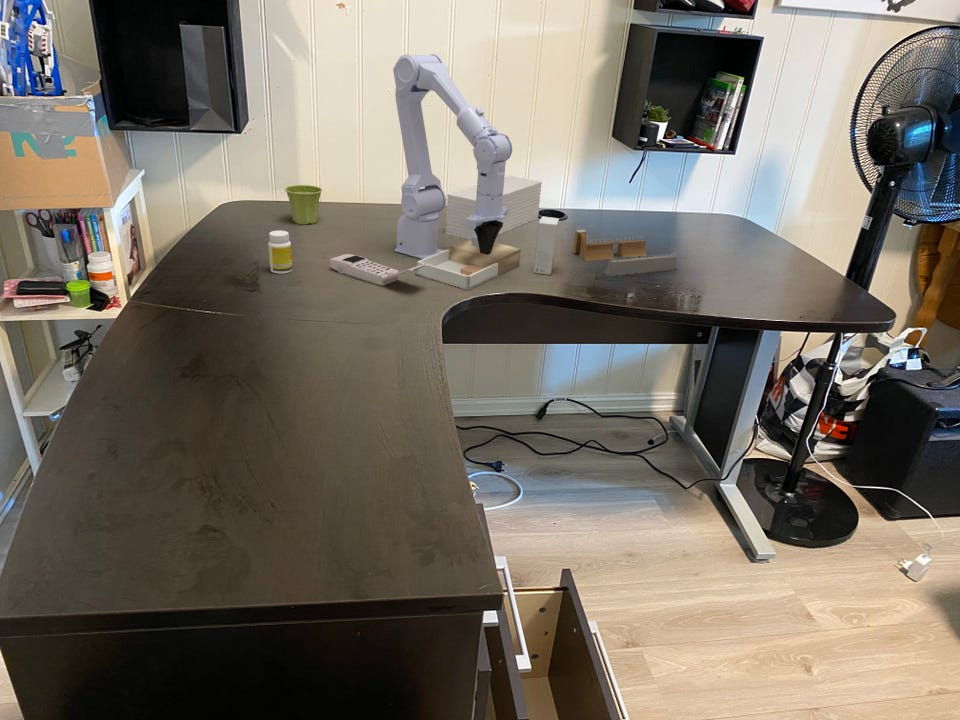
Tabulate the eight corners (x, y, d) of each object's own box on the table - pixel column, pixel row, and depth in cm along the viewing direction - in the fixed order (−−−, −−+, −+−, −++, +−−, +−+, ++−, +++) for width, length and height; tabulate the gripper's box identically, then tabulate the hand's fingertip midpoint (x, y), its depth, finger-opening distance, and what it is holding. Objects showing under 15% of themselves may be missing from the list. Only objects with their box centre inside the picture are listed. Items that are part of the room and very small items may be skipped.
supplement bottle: (296, 271, 154) (294, 233, 150) (278, 275, 151) (275, 237, 147) (284, 265, 157) (282, 228, 153) (265, 269, 154) (262, 232, 150)
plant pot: (294, 215, 192) (292, 183, 188) (328, 218, 191) (327, 186, 187) (281, 224, 184) (279, 191, 180) (316, 228, 183) (315, 194, 179)
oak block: (450, 262, 166) (451, 246, 164) (473, 252, 173) (474, 237, 172) (497, 275, 160) (498, 259, 158) (519, 265, 167) (520, 248, 166)
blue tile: (471, 245, 166) (471, 237, 165) (480, 241, 169) (481, 233, 168) (485, 249, 164) (486, 240, 163) (494, 245, 167) (495, 237, 166)
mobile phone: (410, 270, 143) (320, 242, 154) (409, 297, 146) (321, 268, 157) (428, 263, 148) (339, 236, 159) (427, 289, 150) (339, 261, 162)
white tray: (415, 274, 157) (416, 261, 156) (446, 261, 166) (447, 249, 165) (468, 290, 151) (468, 277, 149) (497, 275, 160) (498, 263, 158)
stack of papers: (506, 211, 211) (509, 175, 206) (537, 218, 206) (541, 181, 201) (445, 234, 186) (447, 194, 181) (479, 243, 182) (482, 201, 177)
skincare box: (551, 275, 163) (557, 224, 157) (532, 273, 163) (538, 222, 158) (553, 267, 168) (559, 217, 162) (536, 265, 169) (541, 215, 163)
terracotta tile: (470, 264, 158) (469, 273, 159) (460, 269, 155) (460, 277, 156) (485, 268, 156) (484, 277, 157) (475, 273, 153) (475, 282, 154)
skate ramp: (601, 288, 159) (606, 256, 156) (529, 241, 188) (532, 213, 184) (703, 277, 171) (710, 247, 168) (621, 234, 199) (625, 208, 196)
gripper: (487, 202, 145) (483, 265, 151) (522, 190, 156) (516, 249, 162) (459, 195, 148) (455, 257, 154) (495, 184, 159) (490, 243, 165)
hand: (485, 253), depth 158 cm, fingers closed
